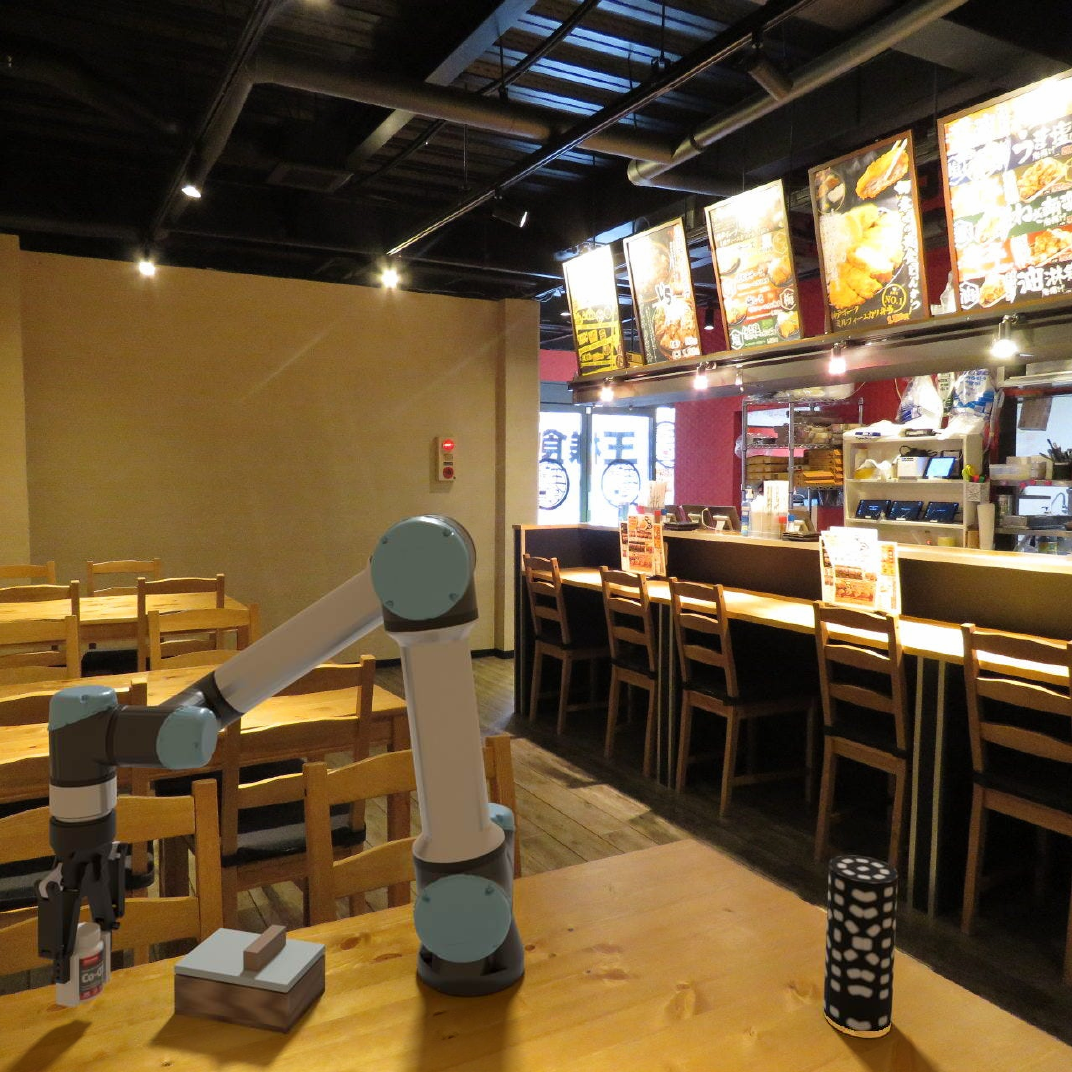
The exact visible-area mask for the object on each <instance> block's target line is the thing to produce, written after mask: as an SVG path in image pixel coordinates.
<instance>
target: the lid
mask: <svg viewBox="0 0 1072 1072" xmlns="http://www.w3.org/2000/svg"><path fill="white" fill-rule="evenodd" d="M323 954H326V944H324V943H318V942H317V943H316V942H311V941H306V940H305V941H303V940H300V939H293V938H287V926H285V925H280V924H279V925H278V924H271V925H270V927H268V928H267V929H266V930H264V932H262V933H257V932H256V933H254V932H248V931H243V930H238V929H236V930H235V929H231V928H223V927H219V928H218V929H217V930H216V931H214V932H212V934H211V935H210V936H208V937H207V938H206V939H205V940H204V941H202V942H201V943H200V944H199V945H197V946H196V947H195V948H193V950H191V951H190V952H189V953H187V954H186V955H185V956H184V957H182V958H181V959H180V960H178V961H177V962H176V963H175V964H174V965H173V969H174V970H173V973H174V974H176V973H178V974H183V975H189V976H195V977H200V978H206V979H212V980H217V981H223V982H229V983H235V984H240V985H246V986H252V987H257V988H263V989H269V990H274V991H280V992H286V993H287V992H288V991H289V990H290V989H291V988H292V987H293V986H294V984H295V983H296V982H297V981H298V980H299V979H300V978H301V977H302V976H303V975H304V974H305V973H306V972H307V971H308V970H309V969H310V968H311V966H312V965H313V964H314V963H315V962H316V961H317V960H318V959H319V958H320V957H321V956H322V955H323Z"/></svg>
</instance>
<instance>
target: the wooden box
mask: <svg viewBox="0 0 1072 1072" xmlns="http://www.w3.org/2000/svg"><path fill="white" fill-rule="evenodd" d="M173 979H174V980H173V983H174V985H173V987H174V988H173V989H174V990H173V991H174V993H173V994H174V995H173V999H174V1003H173V1004H174V1006H173V1007H174V1010H173V1011H174V1012H173V1013H174V1014H178V1015H184V1016H189V1017H193V1018H194V1017H195V1018H198V1019H205V1020H209V1021H213V1022H214V1021H215V1022H219V1023H220V1022H221V1023H226V1024H232V1025H236V1026H241V1027H243V1026H244V1027H246V1028H252V1029H258V1030H262V1031H267V1032H272V1033H273V1032H274V1033H279V1034H285V1035H287V1034H288V1033H289V1032H291V1030H292V1029H293V1028H294V1026H295V1025H296V1024H297V1023H298V1022H299V1020H300V1019H301V1018H302V1017H303V1016H304V1015H305V1014H306V1013H307V1012H308V1010H309V1009H310V1008H311V1007H312V1006H313V1004H315V1003H316V1001H317V1000H318V999H319V998H320V997H321V996H322V994H323V993H324V992H325V991H326V953H324V954H323V955H322V956H321V957H320V958H319V959H318V960H317V961H316V962H315V963H314V964H313V965H312V966H311V968H310V969H309V970H308V971H307V972H306V973H305V974H304V975H303V976H302V977H301V978H300V979H299V980H298V981H297V982H296V983H295V984H294V986H293V987H292V988H291V989H290V990H289V991H288V992H287V993H286V992H280V991H274V990H269V989H263V988H257V987H252V986H246V985H240V984H235V983H229V982H223V981H217V980H212V979H206V978H200V977H195V976H189V975H183V974H178V973H174V975H173Z"/></svg>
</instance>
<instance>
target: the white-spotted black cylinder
mask: <svg viewBox="0 0 1072 1072" xmlns="http://www.w3.org/2000/svg"><path fill="white" fill-rule="evenodd" d="M898 881H899V872H898V871H897V870H896V869H895V867H893V866H892V865H891V864H889V863H887V862H885V861H882V860H879V859H877V858H875V857H874V858H873V857H870V856H869V857H868V856H864V855H857V854H856V855H853V854H851V855H849V854H847V855H839V856H836V857H833V858H832V859H830V861H829V863H828V881H827V882H828V884H827V885H828V886H827V888H828V889H827V910H826V911H827V912H826V931H825V932H826V933H825V935H826V936H825V960H824V961H825V962H824V983H823V984H824V985H823V986H824V988H823V1006H822V1008H824V1012H825V1014H826V1016H828V1017H829V1018H830V1019H831V1020H832V1021H833V1022H835V1023H836V1024H838V1025H840V1026H844V1027H845V1028H848V1029H851V1030H854V1031H879V1030H883V1029H884V1028H886V1027H888V1026H889V1025H890V1023H891V1024H892V1019H893V1018H892V1017H893V1015H892V1014H893V994H894V993H893V992H894V975H895V974H894V973H895V972H894V970H895V947H896V931H897V930H896V929H897V928H896V927H897V902H898Z"/></svg>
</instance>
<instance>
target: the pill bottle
mask: <svg viewBox="0 0 1072 1072" xmlns="http://www.w3.org/2000/svg"><path fill="white" fill-rule="evenodd" d="M100 936H101V933H100V925H99V924H97V923H94V922H93V921H86V922H85V921H84V922H80V923H79V922H78V928H77V934H76V940H75V946H74V952H75V953H79V1004H83V1003H87V1002H90V1001H92V1000H94V999H96V998H97V997H99V996H100V995H101V993H102V992H103V990H104V983H103V941H102V940H101V939H100Z"/></svg>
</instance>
